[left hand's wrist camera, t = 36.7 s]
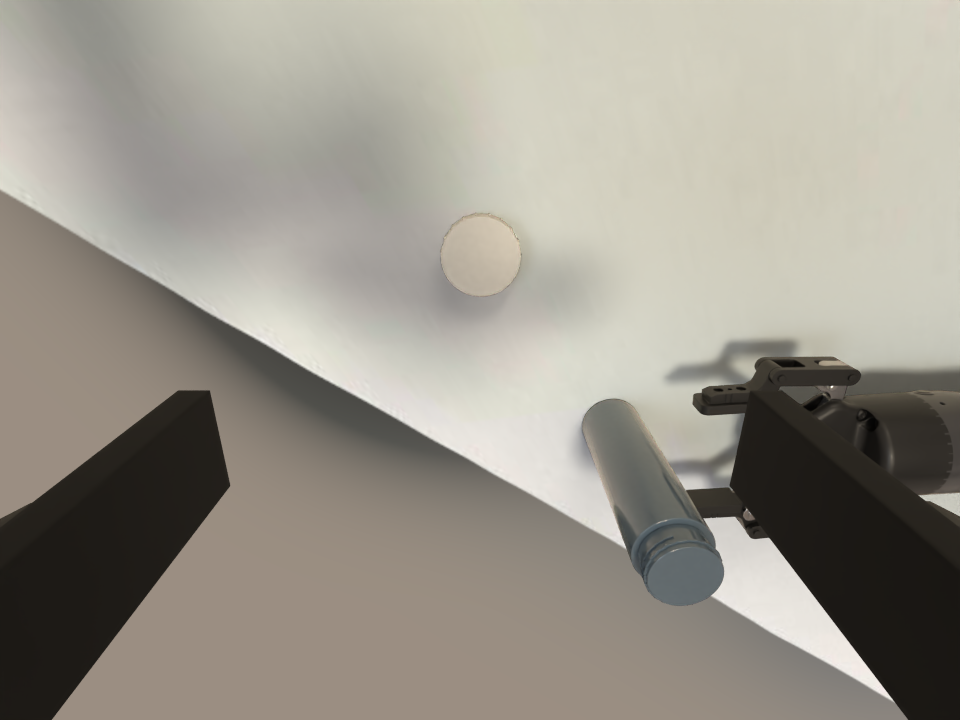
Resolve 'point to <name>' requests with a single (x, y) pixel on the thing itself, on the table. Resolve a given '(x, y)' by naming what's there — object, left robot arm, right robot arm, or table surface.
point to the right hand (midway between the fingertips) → (691, 455)
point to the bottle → (652, 507)
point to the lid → (480, 255)
